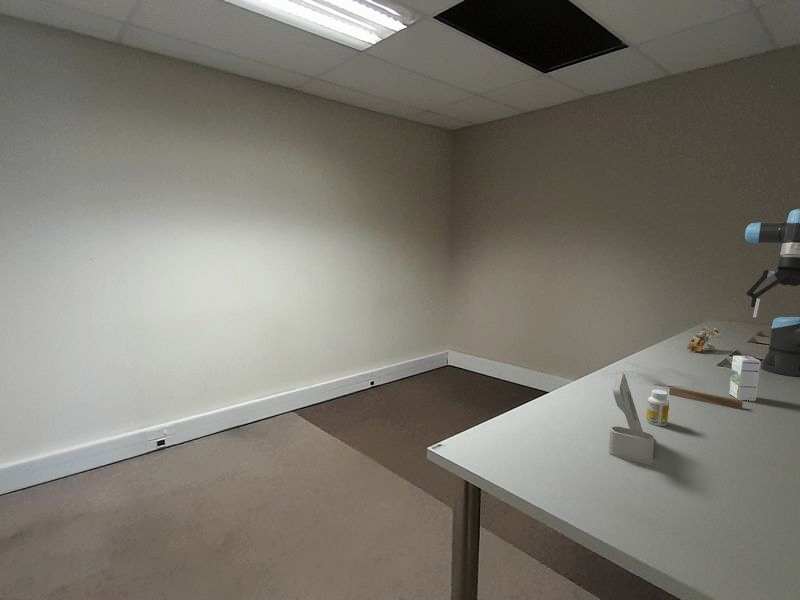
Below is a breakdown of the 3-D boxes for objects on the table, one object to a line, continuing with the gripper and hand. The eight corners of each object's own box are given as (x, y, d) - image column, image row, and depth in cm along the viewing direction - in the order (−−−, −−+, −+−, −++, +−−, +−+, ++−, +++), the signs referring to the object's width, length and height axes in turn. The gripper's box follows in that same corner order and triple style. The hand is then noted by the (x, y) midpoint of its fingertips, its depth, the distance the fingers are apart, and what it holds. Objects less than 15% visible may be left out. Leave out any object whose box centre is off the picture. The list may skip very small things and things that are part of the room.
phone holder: (652, 466, 100) (660, 396, 97) (606, 454, 105) (612, 387, 102) (653, 437, 114) (660, 375, 111) (613, 428, 119) (618, 369, 117)
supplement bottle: (664, 419, 125) (667, 389, 124) (669, 427, 120) (672, 396, 119) (644, 417, 127) (647, 387, 125) (648, 424, 122) (651, 393, 120)
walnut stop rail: (669, 392, 147) (670, 386, 147) (741, 407, 135) (742, 400, 134) (669, 394, 146) (669, 388, 145) (741, 409, 133) (742, 402, 133)
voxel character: (683, 353, 205) (697, 337, 211) (705, 363, 198) (719, 345, 204) (689, 337, 198) (703, 321, 204) (711, 347, 191) (726, 329, 197)
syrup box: (756, 401, 140) (762, 360, 138) (736, 400, 141) (742, 359, 139) (746, 395, 145) (751, 356, 143) (727, 394, 146) (732, 354, 144)
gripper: (744, 253, 139) (732, 314, 141) (852, 259, 122) (836, 329, 124) (746, 255, 145) (734, 314, 146) (850, 262, 127) (835, 328, 129)
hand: (781, 321), depth 135 cm, fingers open, 13 cm apart
